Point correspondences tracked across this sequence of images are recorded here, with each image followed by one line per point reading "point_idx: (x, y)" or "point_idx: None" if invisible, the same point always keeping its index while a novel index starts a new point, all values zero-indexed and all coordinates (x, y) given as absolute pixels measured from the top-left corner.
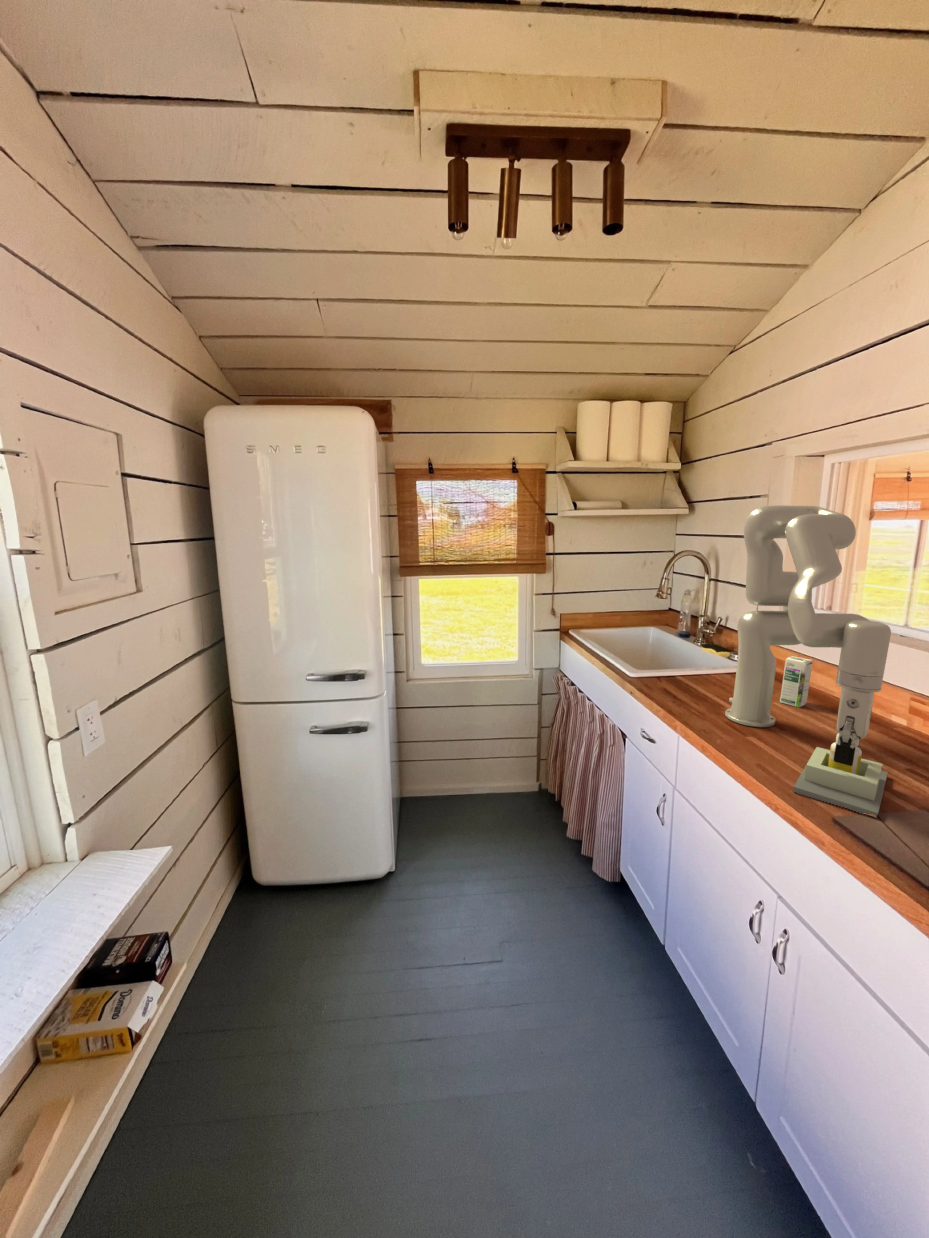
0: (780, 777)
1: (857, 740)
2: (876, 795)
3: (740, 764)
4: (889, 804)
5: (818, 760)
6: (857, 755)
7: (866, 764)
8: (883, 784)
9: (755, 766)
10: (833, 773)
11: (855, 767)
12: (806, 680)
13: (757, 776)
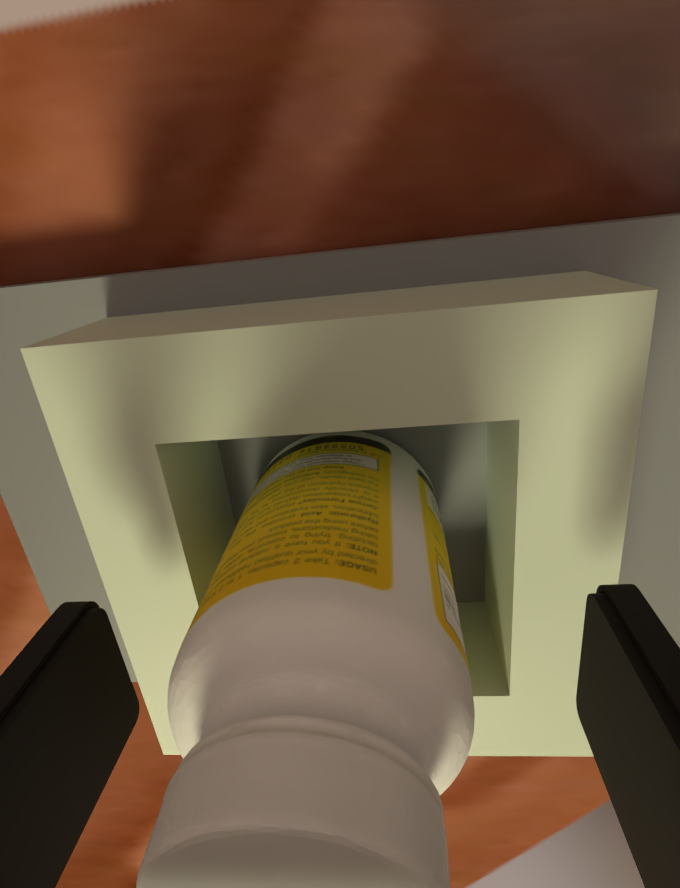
0: None
1: (352, 840)
2: (463, 276)
3: (514, 845)
4: (440, 179)
5: None
6: (404, 611)
7: (161, 453)
8: (194, 276)
9: (483, 804)
10: None
11: (402, 517)
12: None
13: None
